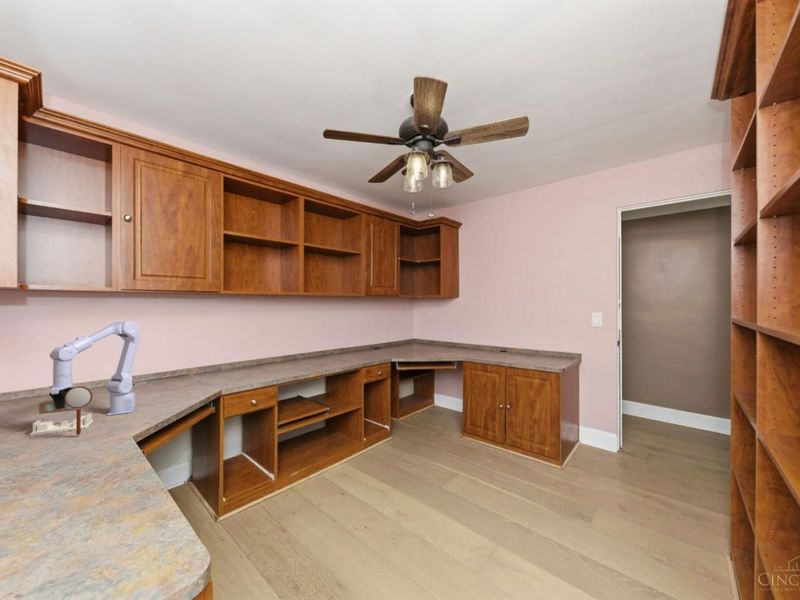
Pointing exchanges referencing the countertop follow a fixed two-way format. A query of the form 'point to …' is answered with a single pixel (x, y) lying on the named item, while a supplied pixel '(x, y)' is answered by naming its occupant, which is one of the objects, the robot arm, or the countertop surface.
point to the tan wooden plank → (53, 407)
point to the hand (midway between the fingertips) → (62, 406)
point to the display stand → (59, 425)
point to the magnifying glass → (78, 402)
